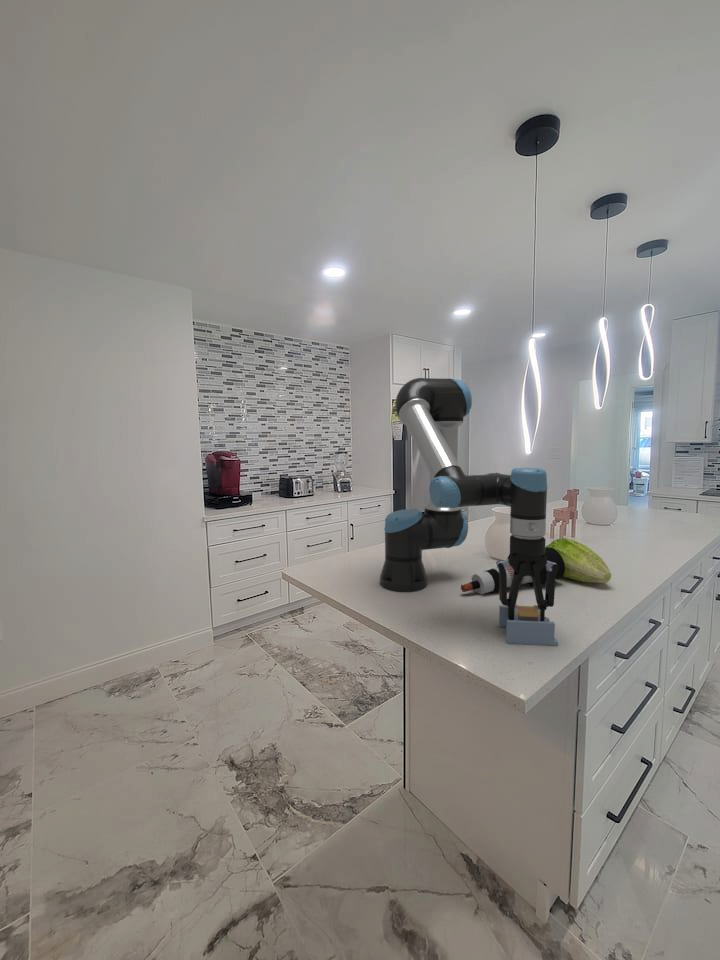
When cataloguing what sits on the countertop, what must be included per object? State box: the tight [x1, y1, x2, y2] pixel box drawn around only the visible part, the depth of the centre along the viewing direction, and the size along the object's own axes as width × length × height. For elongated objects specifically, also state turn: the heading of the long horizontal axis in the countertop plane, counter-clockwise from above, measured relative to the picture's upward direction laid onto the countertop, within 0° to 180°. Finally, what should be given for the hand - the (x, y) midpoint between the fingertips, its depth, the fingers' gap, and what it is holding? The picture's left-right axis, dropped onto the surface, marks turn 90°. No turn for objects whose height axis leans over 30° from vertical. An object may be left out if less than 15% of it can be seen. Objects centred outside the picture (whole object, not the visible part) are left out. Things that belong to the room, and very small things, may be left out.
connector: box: [517, 605, 538, 621], centre depth 94 cm, size 4×4×6 cm
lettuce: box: [545, 537, 612, 583], centre depth 131 cm, size 13×22×14 cm
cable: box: [460, 546, 565, 595], centre depth 124 cm, size 10×34×10 cm, turn 110°
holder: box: [498, 605, 559, 646], centre depth 94 cm, size 11×9×5 cm
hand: (525, 633), depth 94 cm, fingers closed on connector, 4 cm apart
